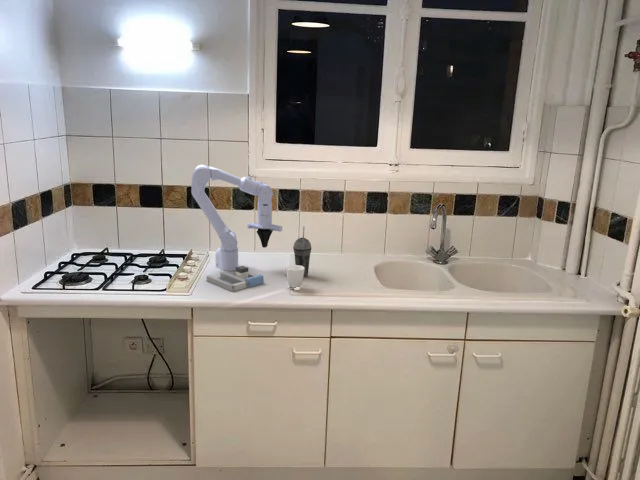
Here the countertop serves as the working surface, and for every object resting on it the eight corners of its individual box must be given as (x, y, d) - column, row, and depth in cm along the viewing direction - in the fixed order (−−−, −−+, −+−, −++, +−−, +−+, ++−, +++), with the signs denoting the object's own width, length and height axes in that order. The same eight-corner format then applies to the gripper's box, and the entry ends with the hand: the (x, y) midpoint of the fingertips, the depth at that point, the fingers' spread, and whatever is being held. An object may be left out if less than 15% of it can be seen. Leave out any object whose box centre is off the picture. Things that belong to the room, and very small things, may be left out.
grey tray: (205, 283, 200) (205, 273, 199) (238, 275, 210) (238, 265, 209) (231, 294, 189) (231, 283, 188) (264, 285, 199) (264, 275, 198)
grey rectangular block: (235, 280, 202) (235, 267, 201) (242, 278, 204) (242, 265, 203) (241, 282, 199) (240, 269, 198) (248, 280, 202) (248, 267, 201)
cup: (284, 291, 194) (284, 270, 192) (286, 282, 203) (286, 262, 201) (304, 291, 194) (304, 270, 192) (305, 283, 203) (305, 262, 201)
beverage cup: (289, 277, 210) (290, 227, 205) (297, 272, 216) (298, 224, 211) (306, 279, 207) (307, 229, 202) (313, 274, 214) (314, 226, 209)
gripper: (244, 214, 213) (244, 247, 216) (277, 217, 208) (277, 251, 211) (251, 211, 219) (251, 243, 222) (284, 214, 215) (284, 246, 218)
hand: (264, 246), depth 217 cm, fingers closed
